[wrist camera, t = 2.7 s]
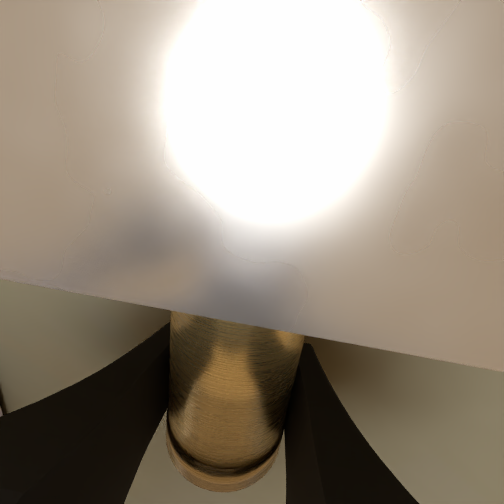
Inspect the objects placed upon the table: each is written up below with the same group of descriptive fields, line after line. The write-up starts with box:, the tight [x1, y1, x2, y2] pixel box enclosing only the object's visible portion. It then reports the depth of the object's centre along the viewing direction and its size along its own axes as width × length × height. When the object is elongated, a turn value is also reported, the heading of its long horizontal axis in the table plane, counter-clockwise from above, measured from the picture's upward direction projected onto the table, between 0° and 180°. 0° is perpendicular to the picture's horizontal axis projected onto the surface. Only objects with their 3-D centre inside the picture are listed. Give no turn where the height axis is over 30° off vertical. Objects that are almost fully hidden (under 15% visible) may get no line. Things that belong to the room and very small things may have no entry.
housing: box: [0, 0, 504, 372], centre depth 6 cm, size 10×8×6 cm
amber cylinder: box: [166, 311, 305, 492], centre depth 8 cm, size 4×11×4 cm, turn 172°
